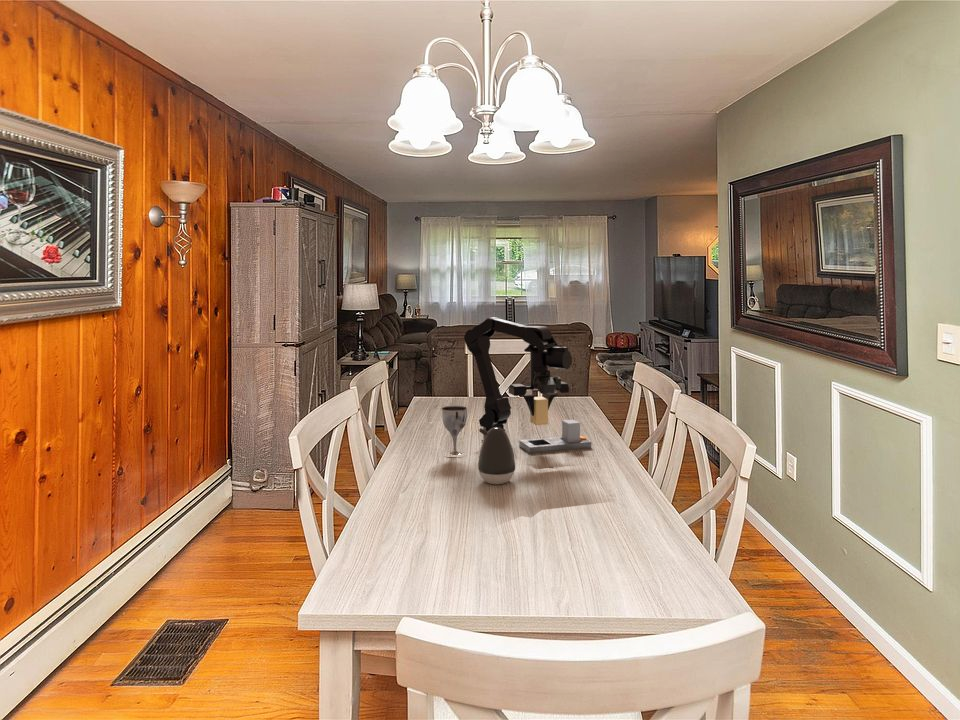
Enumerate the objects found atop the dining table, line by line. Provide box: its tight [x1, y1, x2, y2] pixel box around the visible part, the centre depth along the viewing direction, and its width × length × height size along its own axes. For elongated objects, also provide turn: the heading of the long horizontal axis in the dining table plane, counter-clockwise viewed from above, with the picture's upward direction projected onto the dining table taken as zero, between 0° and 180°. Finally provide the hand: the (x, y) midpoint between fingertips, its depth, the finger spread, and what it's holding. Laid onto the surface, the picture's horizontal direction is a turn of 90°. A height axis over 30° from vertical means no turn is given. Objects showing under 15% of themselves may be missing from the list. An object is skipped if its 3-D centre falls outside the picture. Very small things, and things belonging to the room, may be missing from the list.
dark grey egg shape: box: [477, 427, 516, 485], centre depth 182 cm, size 10×10×15 cm
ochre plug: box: [529, 396, 549, 426], centre depth 211 cm, size 4×5×8 cm
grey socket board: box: [518, 435, 592, 455], centre depth 214 cm, size 21×10×4 cm, turn 106°
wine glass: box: [441, 405, 468, 455], centre depth 209 cm, size 8×8×15 cm
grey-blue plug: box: [561, 419, 581, 443], centre depth 215 cm, size 4×5×8 cm
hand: (539, 415), depth 211 cm, fingers closed on ochre plug, 4 cm apart
